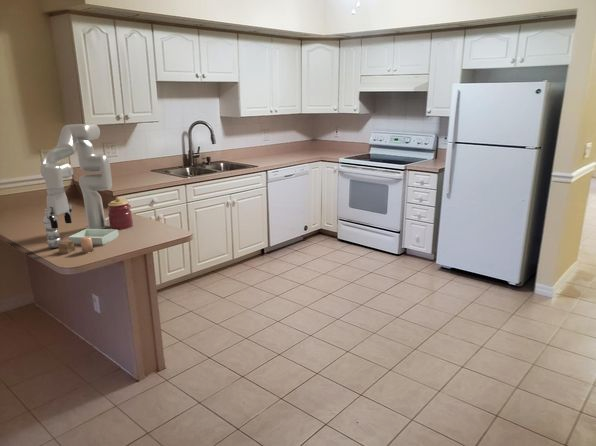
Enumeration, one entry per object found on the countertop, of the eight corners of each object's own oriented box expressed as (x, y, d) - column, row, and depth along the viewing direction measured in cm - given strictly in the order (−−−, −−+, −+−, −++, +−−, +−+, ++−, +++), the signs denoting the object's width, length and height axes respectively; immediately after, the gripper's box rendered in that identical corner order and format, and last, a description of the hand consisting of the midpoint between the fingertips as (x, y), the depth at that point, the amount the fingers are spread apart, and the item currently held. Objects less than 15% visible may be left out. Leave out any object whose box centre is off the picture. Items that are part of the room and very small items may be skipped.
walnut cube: (66, 249, 234) (64, 240, 232) (74, 250, 233) (73, 240, 231) (59, 253, 229) (57, 243, 228) (68, 253, 228) (66, 243, 227)
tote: (87, 235, 256) (85, 228, 255) (118, 236, 252) (117, 229, 251) (69, 244, 242) (68, 237, 241) (102, 245, 238) (101, 237, 237)
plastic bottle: (64, 244, 242) (57, 207, 236) (58, 249, 235) (51, 211, 230) (52, 245, 241) (45, 208, 236) (45, 249, 235) (38, 211, 229)
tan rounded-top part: (86, 249, 233) (84, 236, 231) (95, 250, 232) (93, 236, 230) (80, 253, 228) (77, 239, 226) (89, 253, 227) (87, 239, 225)
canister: (125, 230, 264) (121, 200, 259) (105, 229, 267) (100, 199, 262) (137, 223, 277) (133, 195, 272) (118, 223, 279) (113, 194, 274)
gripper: (61, 188, 231) (67, 221, 236) (35, 194, 215) (42, 230, 219) (74, 187, 230) (80, 221, 234) (49, 194, 213) (56, 230, 218)
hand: (61, 225), depth 227 cm, fingers open, 9 cm apart
